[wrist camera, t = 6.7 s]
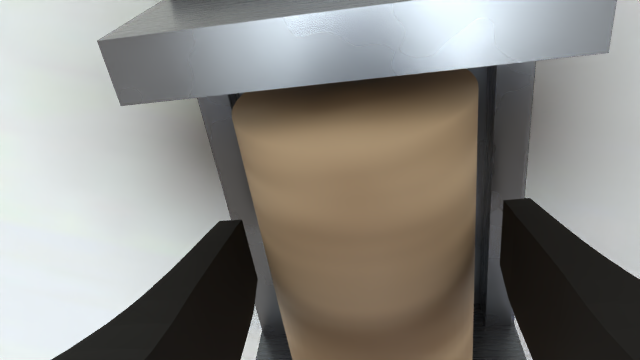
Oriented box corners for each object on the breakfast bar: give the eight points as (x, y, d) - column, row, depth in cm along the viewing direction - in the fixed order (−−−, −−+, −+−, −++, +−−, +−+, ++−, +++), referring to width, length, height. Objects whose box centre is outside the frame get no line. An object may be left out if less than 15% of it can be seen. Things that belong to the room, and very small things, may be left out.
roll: (452, 279, 17) (494, 424, 12) (299, 291, 17) (286, 434, 13) (451, 42, 13) (512, 129, 8) (251, 68, 13) (206, 163, 9)
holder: (505, 321, 19) (553, 468, 14) (272, 331, 20) (245, 471, 15) (535, -103, 12) (653, -90, 7) (171, -48, 13) (62, -5, 8)
